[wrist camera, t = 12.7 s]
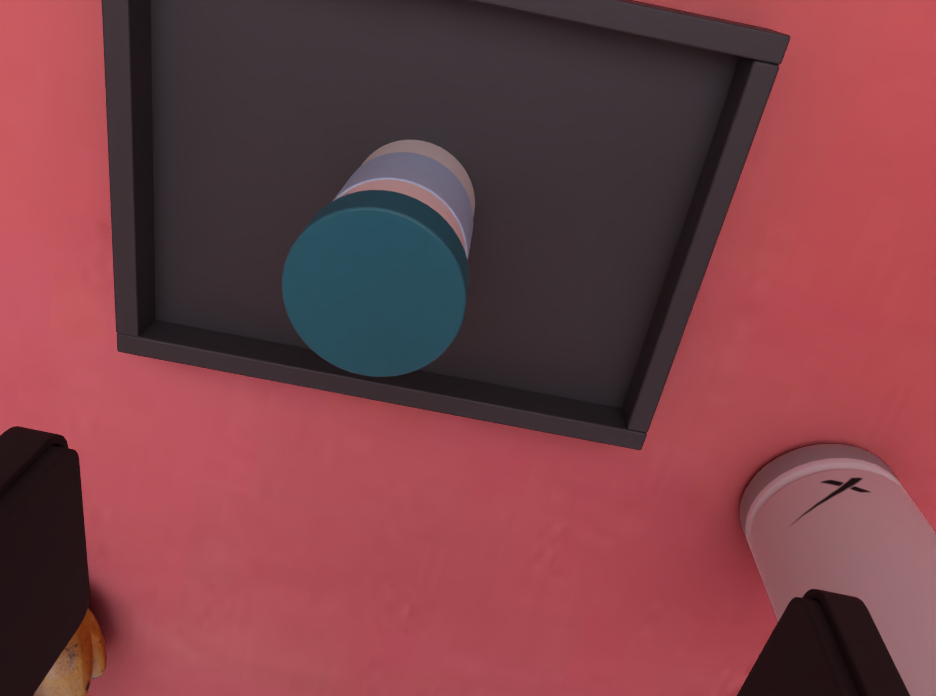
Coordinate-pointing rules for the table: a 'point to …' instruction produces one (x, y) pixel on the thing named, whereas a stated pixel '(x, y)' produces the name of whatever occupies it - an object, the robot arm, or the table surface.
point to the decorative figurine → (77, 662)
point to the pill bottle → (385, 263)
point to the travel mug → (848, 546)
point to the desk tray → (476, 148)
